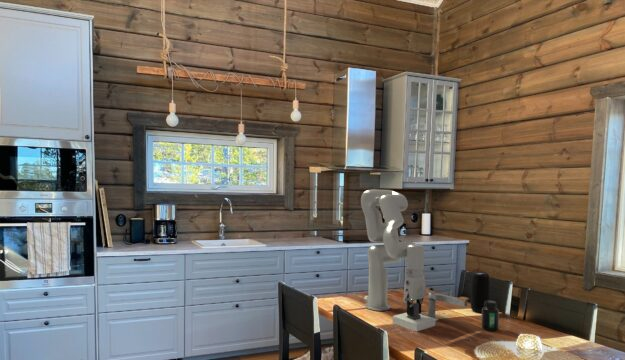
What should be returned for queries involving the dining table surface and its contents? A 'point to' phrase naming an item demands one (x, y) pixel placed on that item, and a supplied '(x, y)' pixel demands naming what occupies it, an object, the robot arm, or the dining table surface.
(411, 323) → the socket block
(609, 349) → the dining table surface
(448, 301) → the grey long bar
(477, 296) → the portable speaker
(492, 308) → the supplement bottle
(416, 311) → the plug
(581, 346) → the dining table surface
